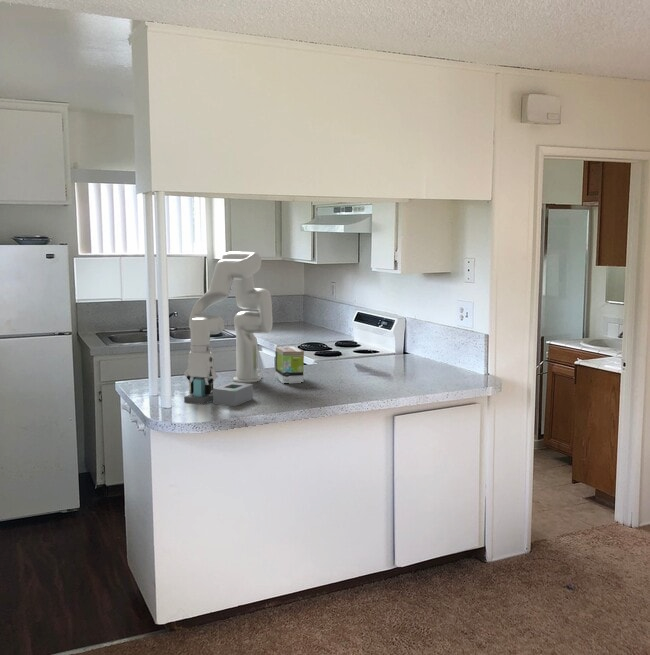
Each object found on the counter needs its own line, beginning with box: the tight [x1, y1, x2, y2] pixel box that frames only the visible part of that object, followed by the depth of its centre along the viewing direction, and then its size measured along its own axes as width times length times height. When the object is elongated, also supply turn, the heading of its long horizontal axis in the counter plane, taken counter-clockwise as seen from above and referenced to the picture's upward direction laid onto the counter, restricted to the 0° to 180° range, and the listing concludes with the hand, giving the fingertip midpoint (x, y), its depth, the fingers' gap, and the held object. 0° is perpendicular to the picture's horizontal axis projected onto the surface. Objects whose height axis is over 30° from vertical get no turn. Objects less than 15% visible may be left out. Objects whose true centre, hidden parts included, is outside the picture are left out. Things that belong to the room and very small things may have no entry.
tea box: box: [274, 346, 305, 384], centre depth 324 cm, size 15×10×15 cm, turn 18°
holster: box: [183, 392, 213, 405], centre depth 284 cm, size 10×9×2 cm
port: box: [212, 381, 254, 407], centre depth 284 cm, size 14×10×6 cm
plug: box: [193, 377, 206, 397], centre depth 284 cm, size 5×4×11 cm
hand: (200, 392), depth 284 cm, fingers open, 5 cm apart
